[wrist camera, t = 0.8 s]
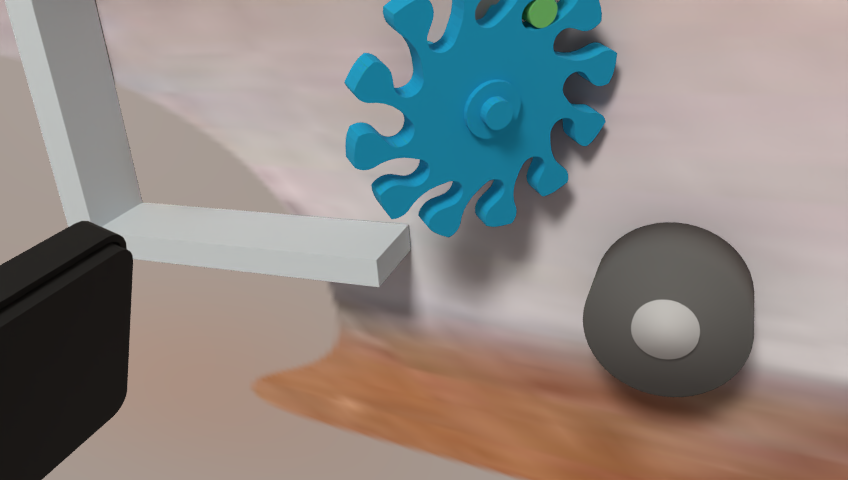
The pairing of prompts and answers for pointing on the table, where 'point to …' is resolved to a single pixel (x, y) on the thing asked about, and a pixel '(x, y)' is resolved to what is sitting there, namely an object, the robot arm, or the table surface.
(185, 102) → the table surface
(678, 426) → the table surface
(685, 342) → the wheel
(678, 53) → the table surface
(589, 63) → the gear
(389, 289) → the table surface
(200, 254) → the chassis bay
